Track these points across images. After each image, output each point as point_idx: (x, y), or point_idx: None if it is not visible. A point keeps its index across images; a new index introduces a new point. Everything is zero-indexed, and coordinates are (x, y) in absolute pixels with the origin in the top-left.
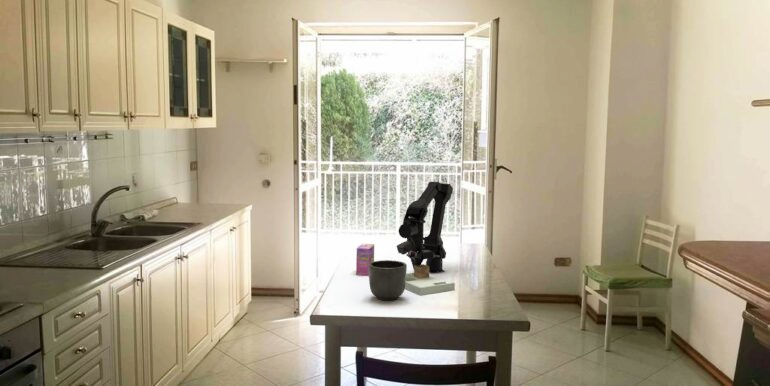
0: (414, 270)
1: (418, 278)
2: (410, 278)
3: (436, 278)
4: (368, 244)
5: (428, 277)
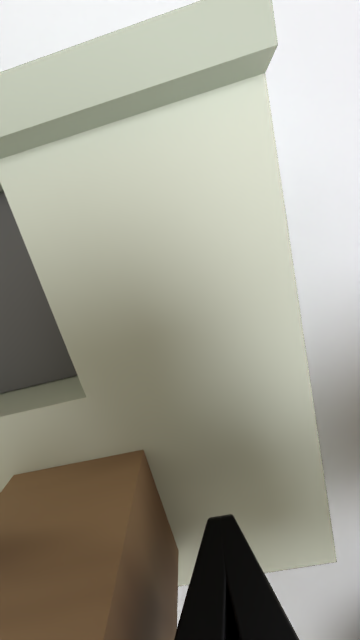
0: (108, 533)
1: (17, 462)
2: (88, 384)
3: None
4: None
5: None
